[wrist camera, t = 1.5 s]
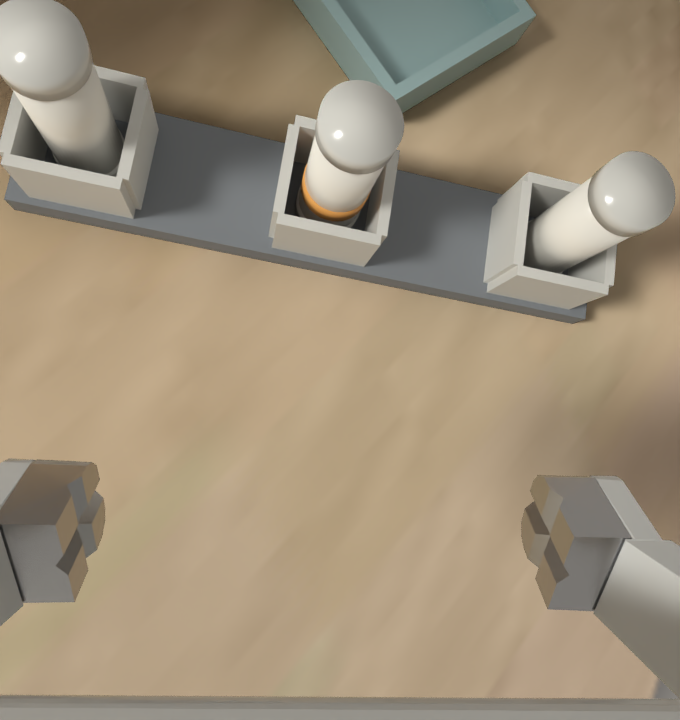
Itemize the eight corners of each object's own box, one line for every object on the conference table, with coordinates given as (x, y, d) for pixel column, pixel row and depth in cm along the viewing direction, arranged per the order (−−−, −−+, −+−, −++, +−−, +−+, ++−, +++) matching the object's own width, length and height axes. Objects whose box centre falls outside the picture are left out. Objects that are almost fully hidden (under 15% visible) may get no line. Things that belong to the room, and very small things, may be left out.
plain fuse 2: (493, 245, 37) (587, 176, 27) (537, 215, 38) (643, 137, 28) (528, 294, 37) (635, 243, 27) (571, 263, 38) (689, 202, 28)
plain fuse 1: (44, 145, 33) (-37, 21, 23) (104, 114, 33) (50, -19, 24) (83, 201, 33) (19, 100, 23) (142, 167, 33) (104, 56, 24)
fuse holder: (572, 323, 39) (626, 305, 33) (14, 209, 33) (-28, 166, 28) (581, 224, 40) (635, 191, 34) (42, 98, 34) (7, 36, 29)
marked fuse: (282, 198, 35) (301, 105, 25) (333, 167, 36) (370, 65, 26) (319, 250, 35) (352, 178, 25) (369, 218, 36) (420, 135, 26)
